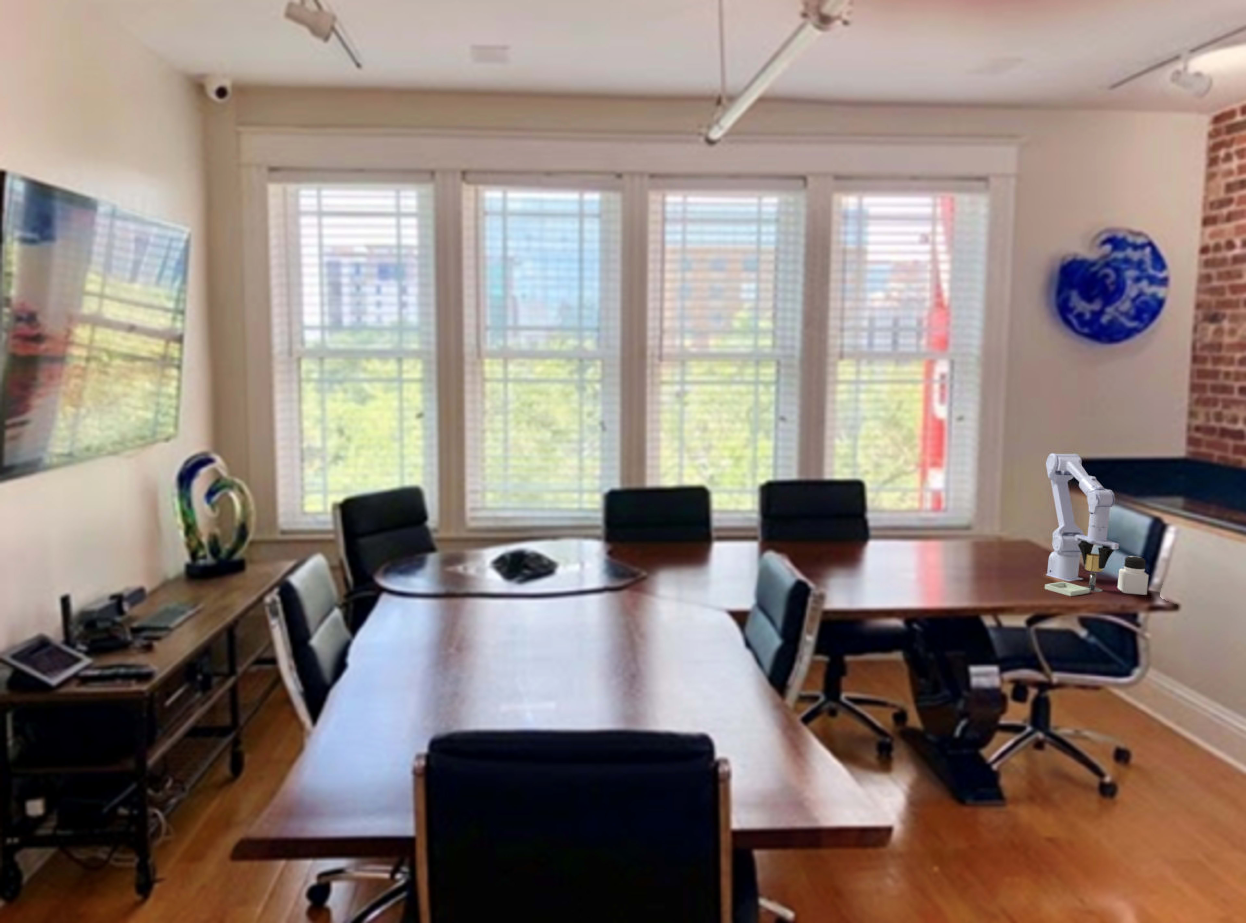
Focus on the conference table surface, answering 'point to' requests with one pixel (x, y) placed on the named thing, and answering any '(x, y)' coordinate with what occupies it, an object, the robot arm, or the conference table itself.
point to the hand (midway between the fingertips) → (1094, 566)
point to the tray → (1067, 588)
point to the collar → (1092, 562)
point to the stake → (1093, 583)
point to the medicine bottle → (1133, 576)
